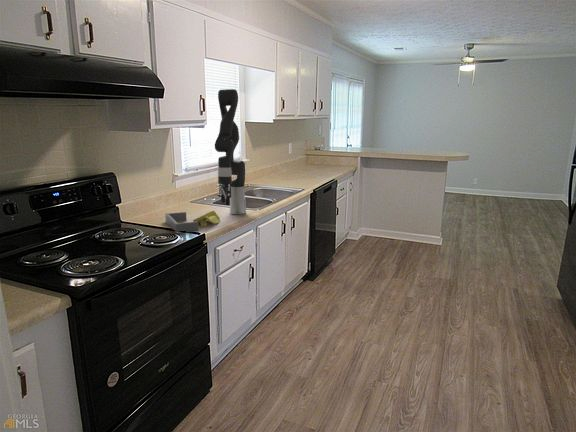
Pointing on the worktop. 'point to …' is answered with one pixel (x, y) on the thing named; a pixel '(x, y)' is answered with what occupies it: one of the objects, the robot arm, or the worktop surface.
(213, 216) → the plastic component
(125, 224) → the worktop surface
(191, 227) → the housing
